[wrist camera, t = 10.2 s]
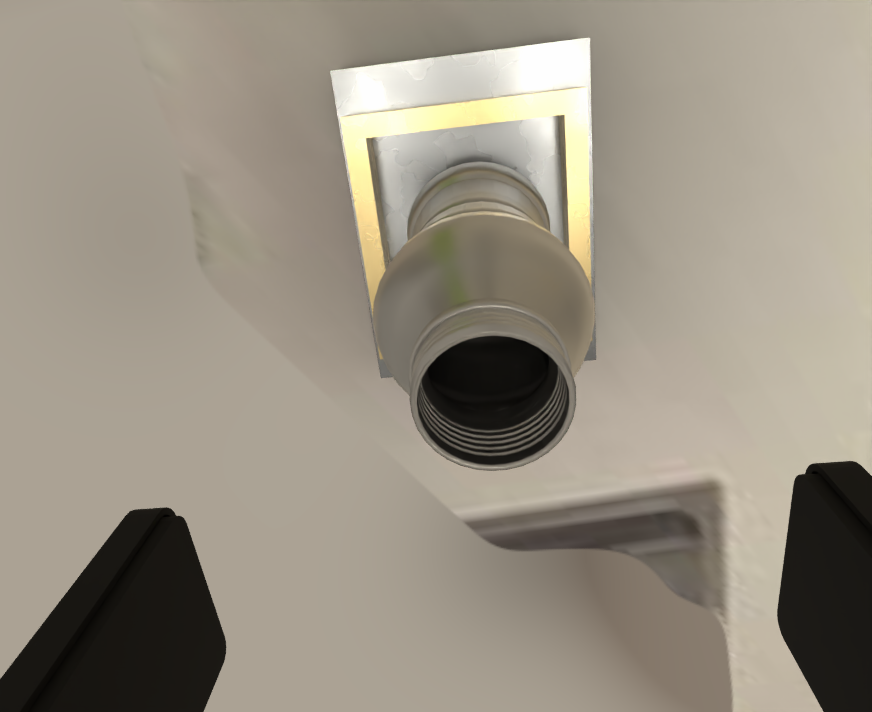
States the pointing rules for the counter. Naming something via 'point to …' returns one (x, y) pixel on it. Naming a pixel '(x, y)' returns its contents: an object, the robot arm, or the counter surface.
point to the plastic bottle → (485, 319)
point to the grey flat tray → (468, 140)
